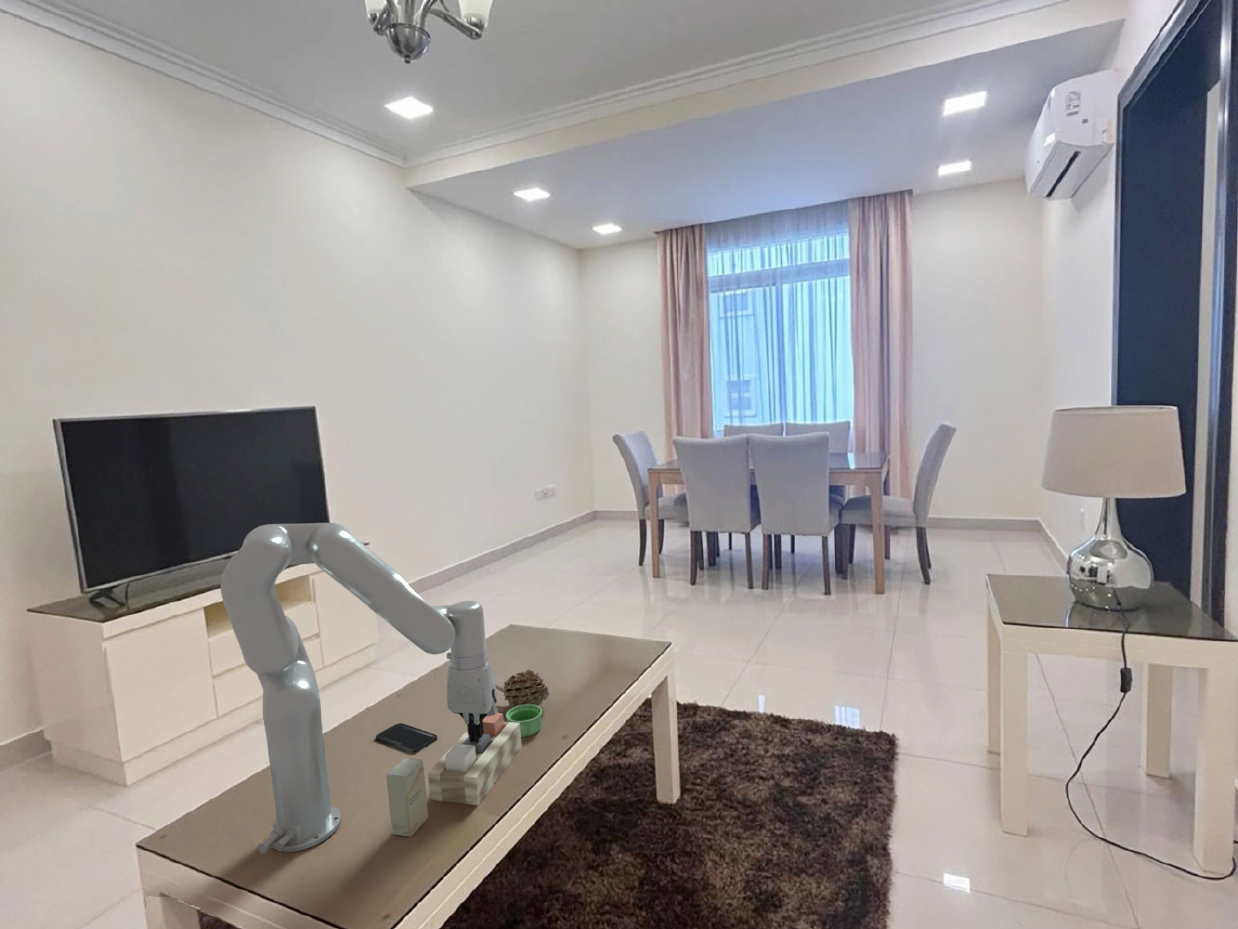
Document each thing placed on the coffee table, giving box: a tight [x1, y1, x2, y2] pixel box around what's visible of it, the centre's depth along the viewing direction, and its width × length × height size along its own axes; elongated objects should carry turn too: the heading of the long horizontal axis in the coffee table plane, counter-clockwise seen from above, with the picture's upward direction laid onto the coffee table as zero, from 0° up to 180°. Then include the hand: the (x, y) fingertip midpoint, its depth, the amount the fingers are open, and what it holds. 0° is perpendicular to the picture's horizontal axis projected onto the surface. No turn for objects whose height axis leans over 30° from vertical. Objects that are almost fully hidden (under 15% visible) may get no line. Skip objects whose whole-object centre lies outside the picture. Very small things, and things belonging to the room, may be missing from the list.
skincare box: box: [385, 757, 429, 837], centre depth 123 cm, size 6×4×12 cm
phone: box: [375, 722, 438, 754], centre depth 156 cm, size 8×1×15 cm
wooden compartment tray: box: [427, 721, 523, 806], centre depth 140 cm, size 22×11×6 cm, turn 165°
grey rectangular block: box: [462, 734, 491, 754], centre depth 140 cm, size 4×4×6 cm
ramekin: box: [505, 704, 543, 738], centre depth 158 cm, size 9×9×4 cm
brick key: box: [483, 712, 505, 737], centre depth 147 cm, size 4×4×6 cm
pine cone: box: [495, 669, 550, 707], centre depth 171 cm, size 22×10×10 cm, turn 62°
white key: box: [444, 743, 476, 773], centre depth 133 cm, size 4×4×6 cm
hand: (476, 738), depth 140 cm, fingers closed
